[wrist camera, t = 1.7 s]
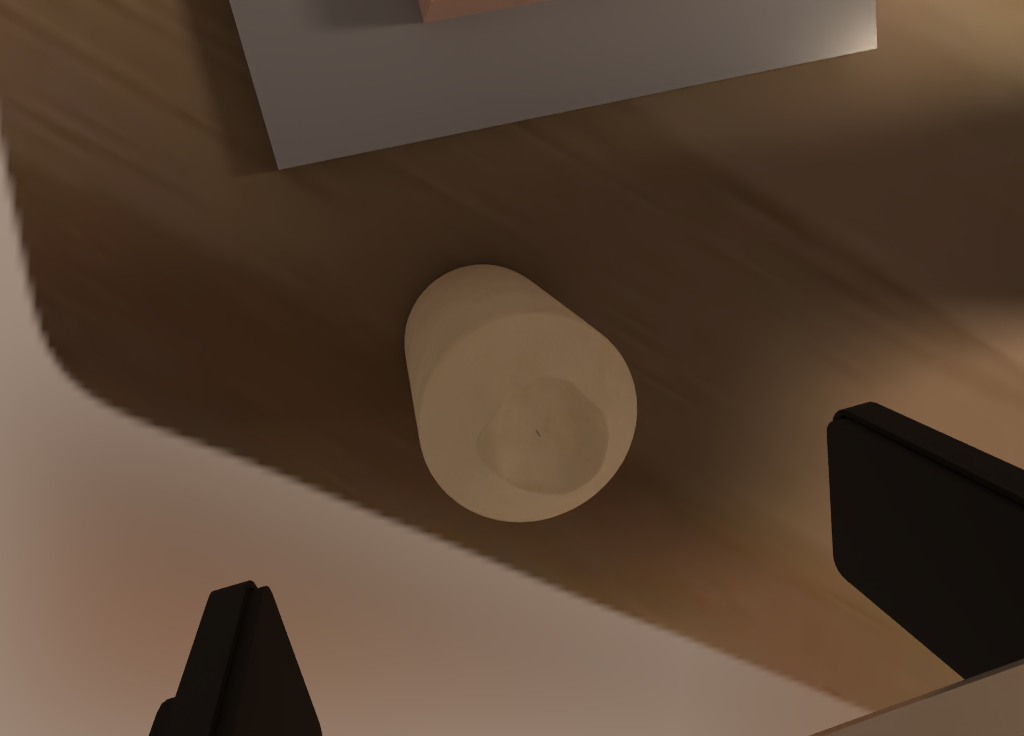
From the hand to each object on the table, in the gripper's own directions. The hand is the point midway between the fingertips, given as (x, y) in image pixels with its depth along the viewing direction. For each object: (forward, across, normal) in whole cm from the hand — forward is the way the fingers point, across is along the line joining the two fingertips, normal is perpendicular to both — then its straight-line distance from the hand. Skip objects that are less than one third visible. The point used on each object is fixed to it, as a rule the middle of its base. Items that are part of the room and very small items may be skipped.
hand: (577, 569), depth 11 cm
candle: (+15, -1, 0) cm, 15 cm away
